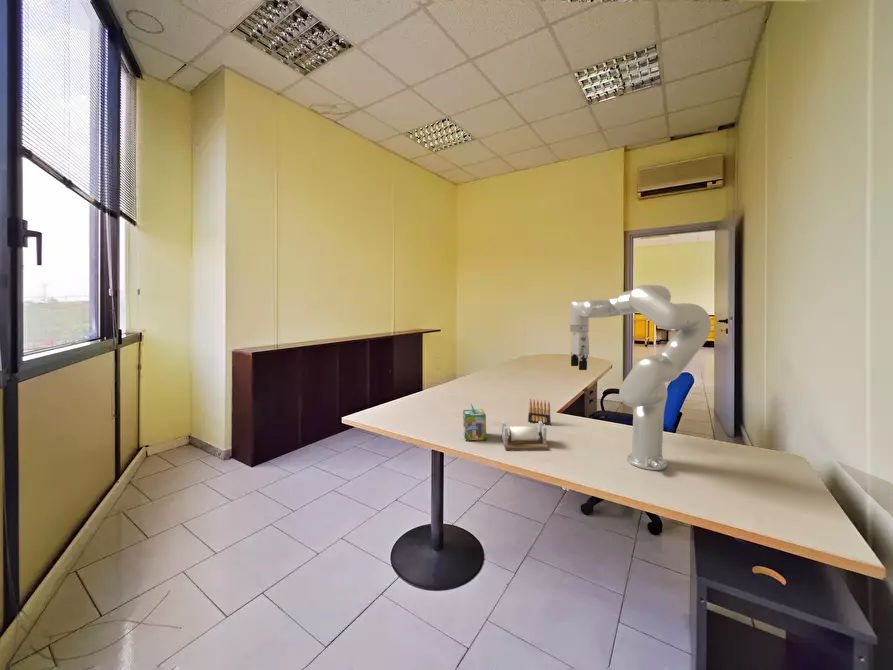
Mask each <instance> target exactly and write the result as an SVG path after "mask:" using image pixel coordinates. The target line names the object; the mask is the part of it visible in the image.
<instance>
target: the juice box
mask: <svg viewBox="0 0 893 670" xmlns="http://www.w3.org/2000/svg"><path fill="white" fill-rule="evenodd" d="M470 406H471V408H470V409H463V410H462V411H463V412H462V413H463V415H462V416H463V418H462V419H463V420H462V421H463V436H464V439H466V440H476V441H487V415H486V413H485V411H484V410H483V409H481V408H479V409H477V408H476V409H475V408H474V406H473V403H470ZM466 440H465V441H466Z"/></svg>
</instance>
